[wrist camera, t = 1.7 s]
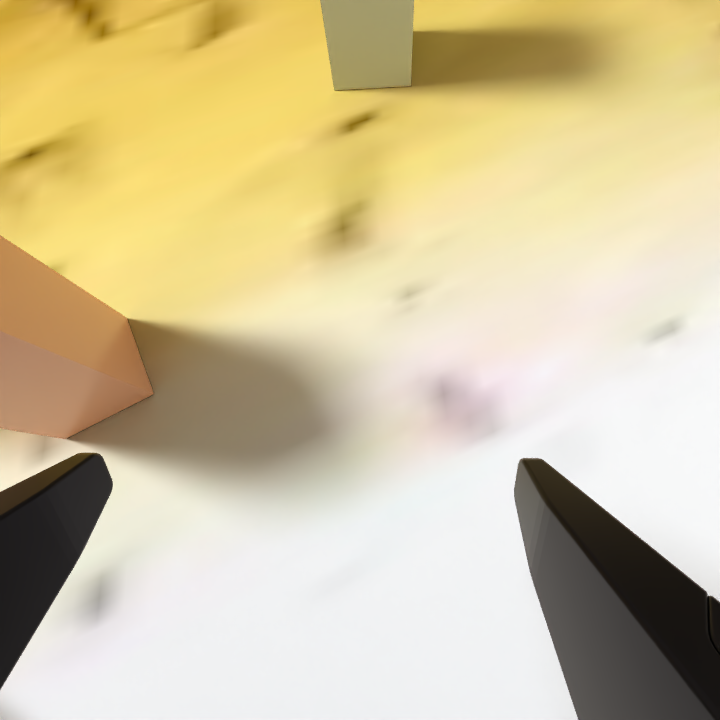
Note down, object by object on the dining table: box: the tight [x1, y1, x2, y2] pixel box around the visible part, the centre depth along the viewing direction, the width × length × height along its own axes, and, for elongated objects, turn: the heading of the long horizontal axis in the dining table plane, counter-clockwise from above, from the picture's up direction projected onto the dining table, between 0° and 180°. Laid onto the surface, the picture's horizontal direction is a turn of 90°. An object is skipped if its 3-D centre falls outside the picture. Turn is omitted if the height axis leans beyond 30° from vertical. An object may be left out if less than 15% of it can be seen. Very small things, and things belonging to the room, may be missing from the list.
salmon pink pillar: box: [0, 236, 154, 439], centre depth 20 cm, size 6×6×11 cm
